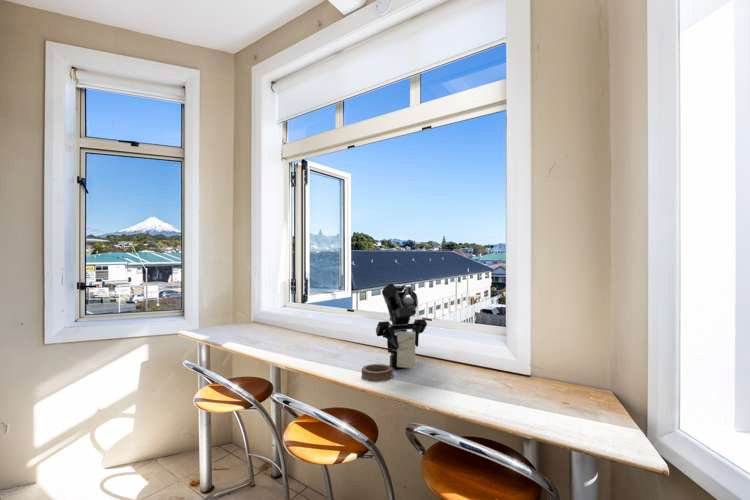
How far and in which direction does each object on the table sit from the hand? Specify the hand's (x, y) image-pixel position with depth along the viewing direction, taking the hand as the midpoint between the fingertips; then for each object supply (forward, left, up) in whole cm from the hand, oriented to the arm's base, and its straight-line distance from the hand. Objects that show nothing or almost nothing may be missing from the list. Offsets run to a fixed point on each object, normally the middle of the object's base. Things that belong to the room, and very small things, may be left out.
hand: (407, 347), depth 131 cm
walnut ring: (+7, -12, -13) cm, 19 cm away
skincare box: (0, -1, -7) cm, 7 cm away
